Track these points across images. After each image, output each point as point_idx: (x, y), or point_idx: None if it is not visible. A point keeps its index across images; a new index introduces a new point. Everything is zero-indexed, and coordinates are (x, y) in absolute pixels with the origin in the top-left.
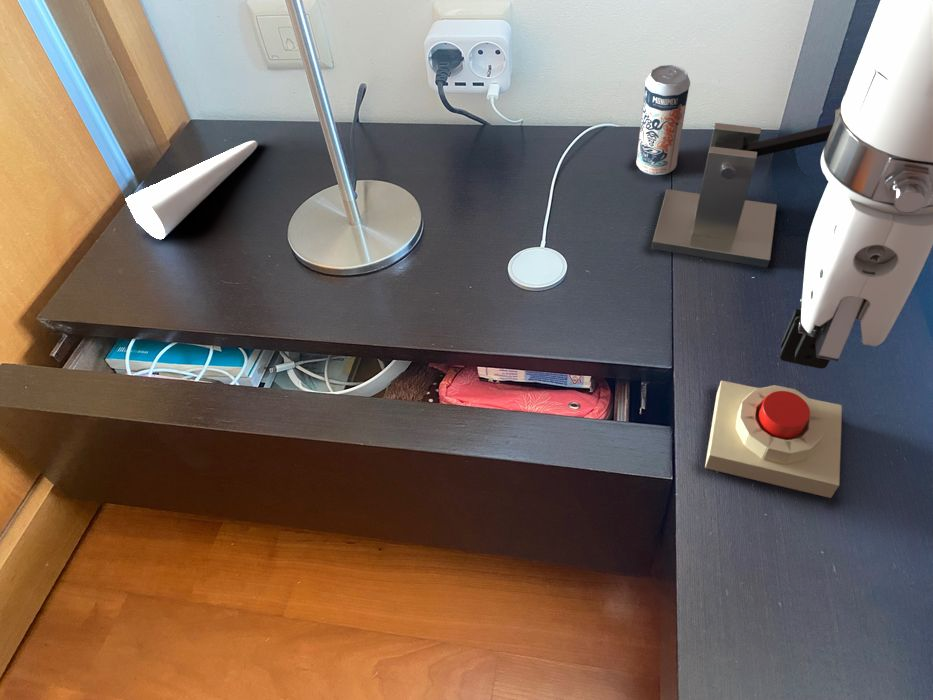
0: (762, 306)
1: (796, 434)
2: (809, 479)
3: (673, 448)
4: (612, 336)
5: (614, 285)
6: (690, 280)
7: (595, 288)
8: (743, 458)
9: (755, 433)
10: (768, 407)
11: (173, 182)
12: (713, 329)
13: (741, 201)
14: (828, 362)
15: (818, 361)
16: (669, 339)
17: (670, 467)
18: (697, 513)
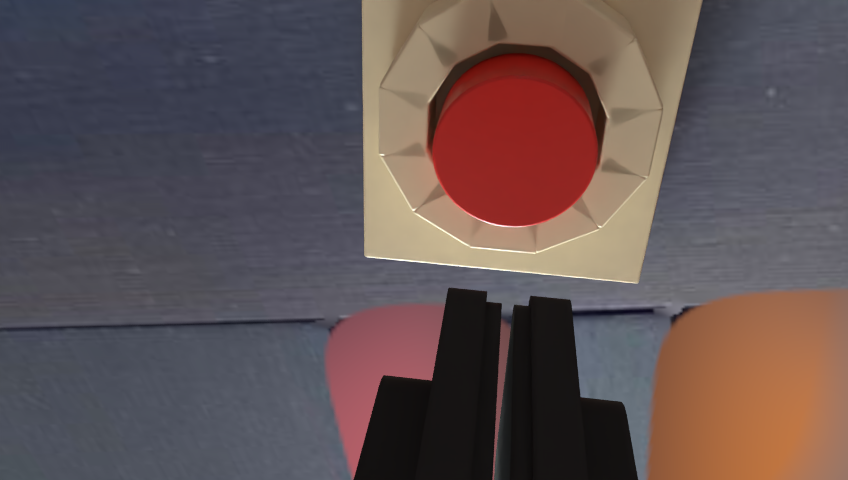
0: (5, 104)
1: (581, 90)
2: (701, 3)
3: (576, 312)
4: (270, 438)
5: (114, 439)
6: (10, 288)
7: (141, 472)
8: (642, 201)
9: (592, 212)
10: (519, 212)
11: None
12: (154, 231)
13: None
14: (573, 327)
15: (625, 425)
16: (232, 329)
17: (635, 317)
18: (772, 257)
